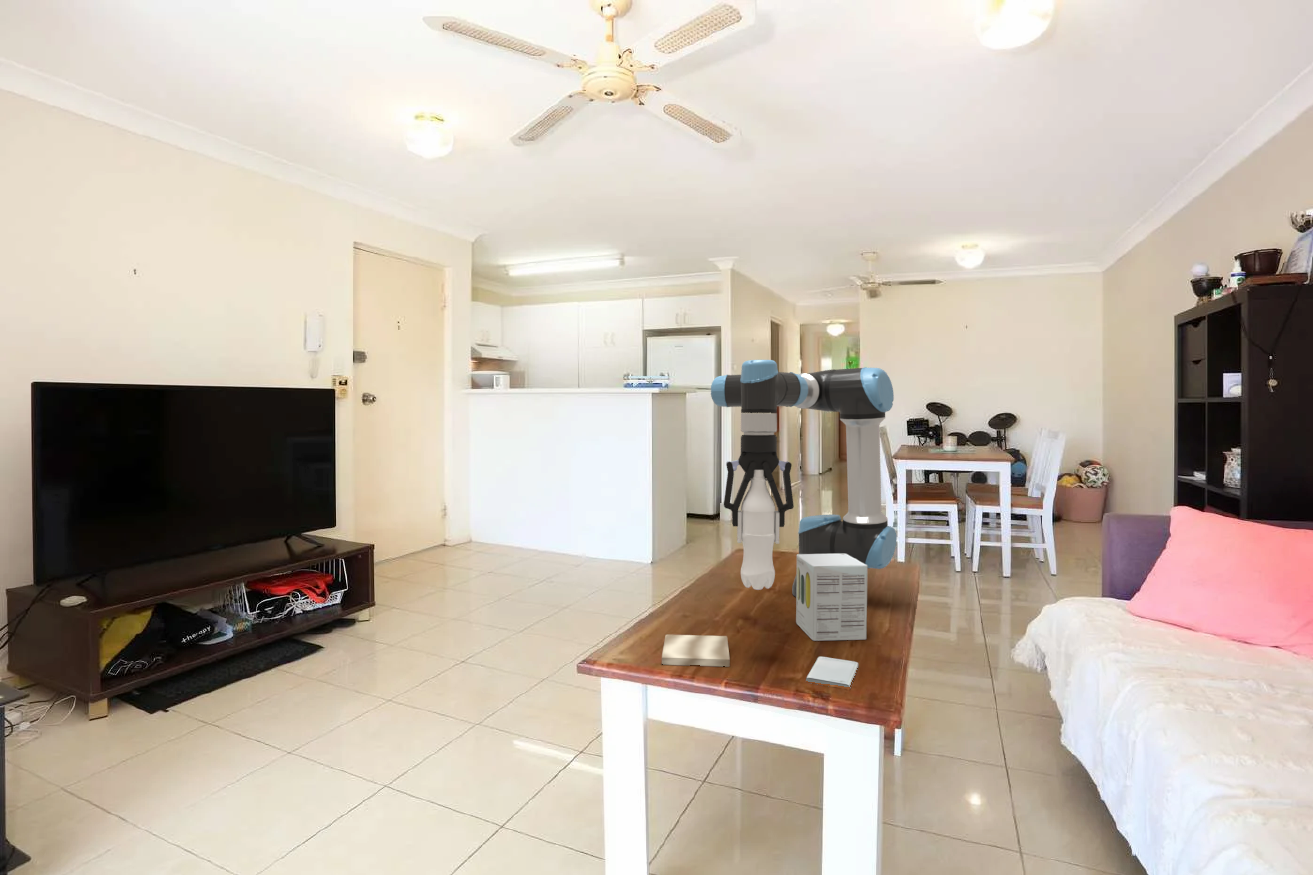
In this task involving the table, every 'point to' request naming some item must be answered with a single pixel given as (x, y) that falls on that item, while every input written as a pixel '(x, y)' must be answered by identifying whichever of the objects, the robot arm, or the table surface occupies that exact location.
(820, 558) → the supplement box
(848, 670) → the white spiral notebook
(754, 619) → the table surface
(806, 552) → the robot arm
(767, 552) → the water bottle
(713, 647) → the flat beige metallic box
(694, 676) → the table surface
